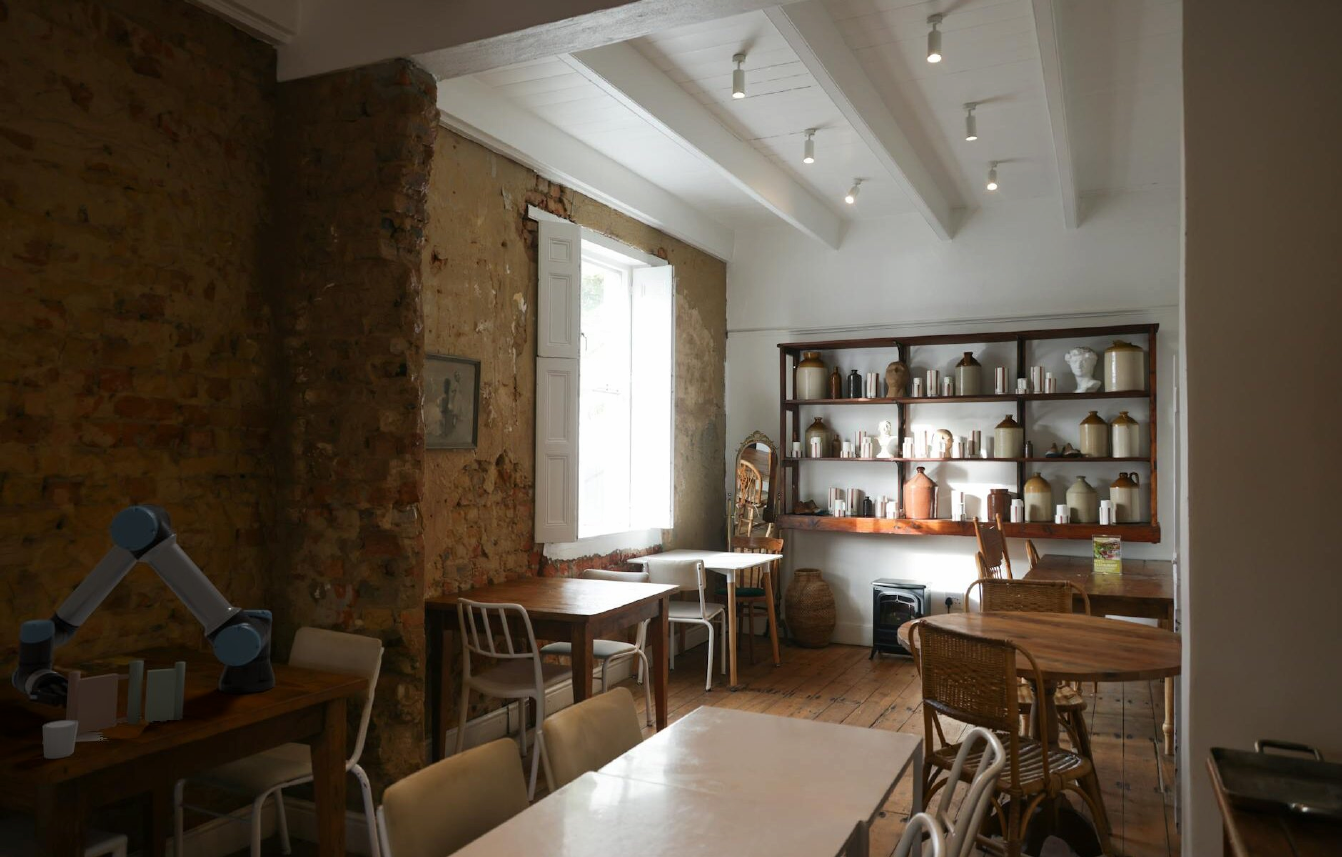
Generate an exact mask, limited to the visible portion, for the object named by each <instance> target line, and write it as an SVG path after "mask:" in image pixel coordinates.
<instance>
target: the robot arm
mask: <svg viewBox="0 0 1342 857" xmlns="http://www.w3.org/2000/svg"><path fill="white" fill-rule="evenodd" d="M109 532H110V533H109V535H110V538H111V540H112V542H113V543H114V546H112V547H111V549H110V550H109V551H108V552H107V553H106V554H105V555H104V556H103V557H102V559H101V560H100V561H99V562H98V564H96V565H95V567H94V568H92V570H91V571H90V572H89V573H88V575H87V576H85V578H84V579H83V580H82V581H81V582H80V584H79V585H78V586H77V587H76V588H75V590H73V592H72V593H71V594H70V595H69V596H68V597H67V598H66V599H65V601H64V602H63V603H62V604H61V605H60V607H58V608H57V610H56V611H55V612H54V614H52V615H51V616H50V618H49V619H33V620H28V621H25V622H23V623H22V624H21V626H20V634H19V648H18V649H19V650H18V664H17V667H16V669H15V670H14V671H13V673H12V675H11V683H12V685H13V687H15V689H17V691H18V692H20V693H22V694H25V695H27V696H29V702H30V703H39V704H43V705H46V706H51V707H56V708H57V707H60V705H61V706H62V709H66V710H67V694H68V678H67V677H66V676H64V675H62V674H60V673H58V672H56V671H53V670H52V668H53V656H54V650H56V649H57V648H59V647H61V646H64V645H66V644H68V643H69V642H70V641H71V640H72V639H74V637H75V636H76V634H77V631H78V629H80V627H81V626H82V625H83V624H84V622H85V621H86V620H88V618H89V617H90V615H91V614H92V613H93V612H94V611H95V610H96V608H98V606H100V604H101V603H102V602H103V601H104V600H105V598H106V597H107V596H108V595H109V594H110V593H111V592H112V590H113V589H115V587H116V586H117V585H118V583H120V582H121V581H122V579H123V578H124V577H125V576H126V575H127V574H128V572H129V571H130V570H131V569H132V568H133V567H134V566H135V565H136V564H137V562H138V563H139V562H141V563H146V564H148V565H149V566H150V567H151V568H152V570H154V572H156V574H157V575H158V576H159V578H161V579H162V580H163V582H164V583H165V585H167V586H168V587H169V588H170V590H171V591H172V592H173V593H174V594H175V595H176V596H177V597H178V599H179V600H180V601H181V602H182V603H183V604H184V605H185V607H186V608H187V609H188V610H189V611H190V612H191V613H192V615H194V617H195V618H196V619H197V620H198V621H199V623H201V625H202V626H203V627H204V629H205V630H204V637H205V639H207V641H209V643H210V644H211V645H212V646H213V651H214V655H215V657H216V658H217V660H219V661H220V662H221V663H222V664H224V668H223V671H222V673H221V676H220V679H219V682H218V690H219V691H220V692H223V693H227V694H240V695H241V694H250V693H251V694H253V693H259V692H263V691H267V690H270V689H272V688H275V685H276V684H275V682H276V681H275V680H276V678H275V674H274V670H273V667H272V663H271V660H270V659H271V658H270V657H271V641H272V640H271V639H272V637H271V635H272V623H273V616H272V615H273V614H272V612H271V611H270V610H268V609H243V608H242V607H235V606H233V605H231V604H230V602H229V601H228V600H227V599H226V598H225V597H224V596H223V594H221V592H220V591H219V590H218V589H217V588H216V586H215V585H214V584H213V583H212V582H211V581H210V579H208V577H207V576H206V575H205V574H204V573H203V572H202V570H201V569H200V568H199V567H198V566H197V565H196V564H195V563H194V561H193V560H192V559H191V558H190V557H189V556H188V555H187V554H186V552H185V551H184V550H183V549H182V548H181V547H180V545H179V544H178V543H177V535H178V534H177V533H176V532H175V531H174V529H173V528H172V518H171V515H170V514H169V512H168V511H167V510H166V508H164V507H162V506H161V505H158V504H154V503H144V504H139V505H131V506H128V507H126V508H125V509H123V510H121V511H120V512H118V513H117V514H116V515H115V516H114V518H113V519H112V520H111V523H110V527H109Z"/></svg>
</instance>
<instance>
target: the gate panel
mask: <svg viewBox="0 0 1342 857" xmlns="http://www.w3.org/2000/svg"><path fill="white" fill-rule="evenodd" d="M81 672H82V671H80V670H74V671H69V672H68V677H67V680H68V694H67V708H66V713H65V720H75V721H78V728H77V734H80V733H85V732H90V731H95V730H100V729H105V728H110V727H115V726H116V724H117V723H122V722H127V716H123V717H119V718H117V709H118V708H117V707H118V691H119V690H118V689H119V680H126V679H129V673H124V674H118V673H116V672H115V673H109V674H101V675H95V676H94V675H93V676H87V677H82V678H81Z"/></svg>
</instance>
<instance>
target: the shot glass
mask: <svg viewBox="0 0 1342 857" xmlns="http://www.w3.org/2000/svg"><path fill="white" fill-rule="evenodd" d="M77 728H78V721H75V720H66V719H62V720H55V721H50V722H47V723H44V724H43V725H42V738H43V739H42V743H43V744H42V745H43V757H44V758H45V759H51V760H53V759H62V758H66V757H69V756H71V754H72V755H73V754H74V751H75V746H76V742H75V740H76V734H77Z"/></svg>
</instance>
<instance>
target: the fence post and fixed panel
mask: <svg viewBox="0 0 1342 857" xmlns="http://www.w3.org/2000/svg"><path fill="white" fill-rule="evenodd" d="M144 661H145V660H142V659H141V660H140V659H139V660H132V661H129V672H128V674H129V678H128V692H127V693H128V694H127V706H126V707H127V711H126V718H127V724H138V723H140V718H141V715H142V698H143V697H142V696H143V694H142V693H143V682H144V679H143V677H144V665H145V662H144ZM146 672H147V673H146V688H145V706H144V710H145V711H144V717H145V722H151V723H154V722H153V721H160V722H168V721H167V720H171V721H172V720H173V719H176V720H177V719H182V720H183V711H184V698H185V697H184V695H185V692H184V691H185V677H186V676H185V675H186V661H177V662H174V668H163V669H162V668H161V669H151V670H150V669H148V670H147V671H146ZM145 722H144V723H145Z"/></svg>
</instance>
